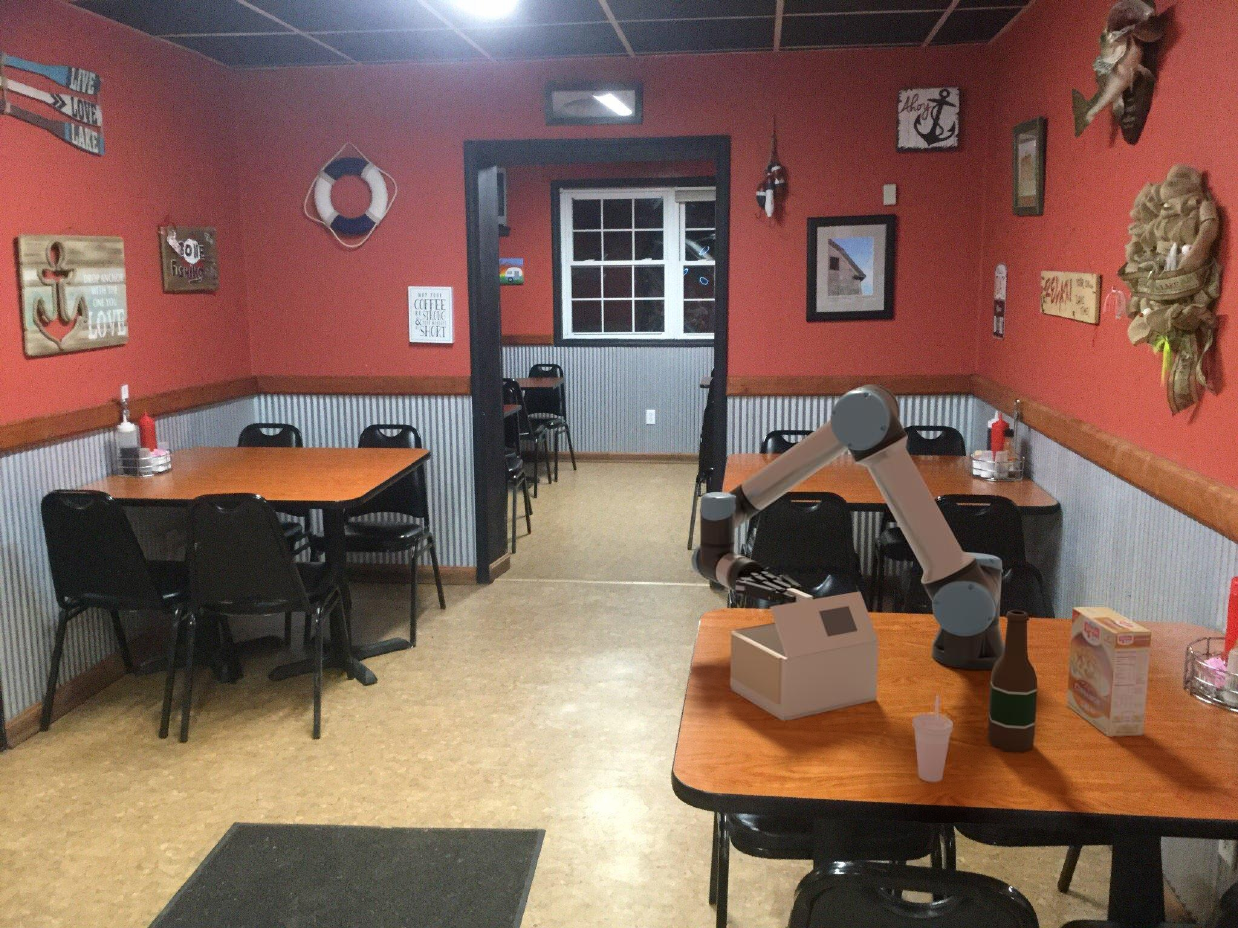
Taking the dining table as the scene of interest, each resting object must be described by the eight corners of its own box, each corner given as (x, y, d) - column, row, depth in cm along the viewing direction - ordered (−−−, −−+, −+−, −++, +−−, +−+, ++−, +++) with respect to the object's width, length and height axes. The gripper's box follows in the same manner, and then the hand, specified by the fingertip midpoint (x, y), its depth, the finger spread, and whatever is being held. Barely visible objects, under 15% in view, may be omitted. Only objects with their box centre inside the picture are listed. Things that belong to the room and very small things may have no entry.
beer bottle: (1028, 757, 182) (1037, 621, 178) (982, 747, 186) (989, 614, 182) (1038, 740, 189) (1046, 609, 185) (992, 731, 193) (999, 603, 189)
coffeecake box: (1064, 704, 205) (1071, 606, 201) (1100, 703, 205) (1107, 605, 202) (1106, 737, 190) (1114, 632, 187) (1145, 735, 191) (1153, 630, 187)
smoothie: (955, 785, 172) (959, 703, 170) (915, 785, 172) (919, 703, 170) (944, 767, 178) (948, 688, 176) (905, 767, 178) (909, 688, 176)
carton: (726, 688, 214) (726, 631, 212) (819, 669, 224) (821, 614, 222) (780, 721, 197) (782, 659, 195) (878, 699, 208) (881, 640, 206)
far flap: (769, 607, 200) (771, 606, 199) (858, 592, 209) (860, 591, 208) (786, 658, 196) (788, 657, 195) (876, 640, 205) (878, 639, 205)
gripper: (766, 587, 230) (836, 617, 209) (715, 595, 224) (781, 627, 204) (767, 553, 229) (837, 580, 208) (715, 561, 223) (782, 589, 202)
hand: (809, 603), depth 206 cm, fingers closed
